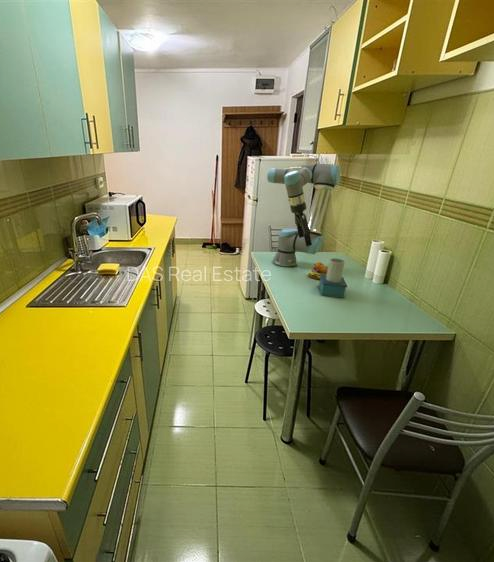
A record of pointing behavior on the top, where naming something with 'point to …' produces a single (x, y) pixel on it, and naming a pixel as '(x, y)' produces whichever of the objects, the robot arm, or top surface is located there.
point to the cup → (335, 270)
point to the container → (332, 287)
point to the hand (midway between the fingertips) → (305, 241)
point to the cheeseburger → (317, 270)
